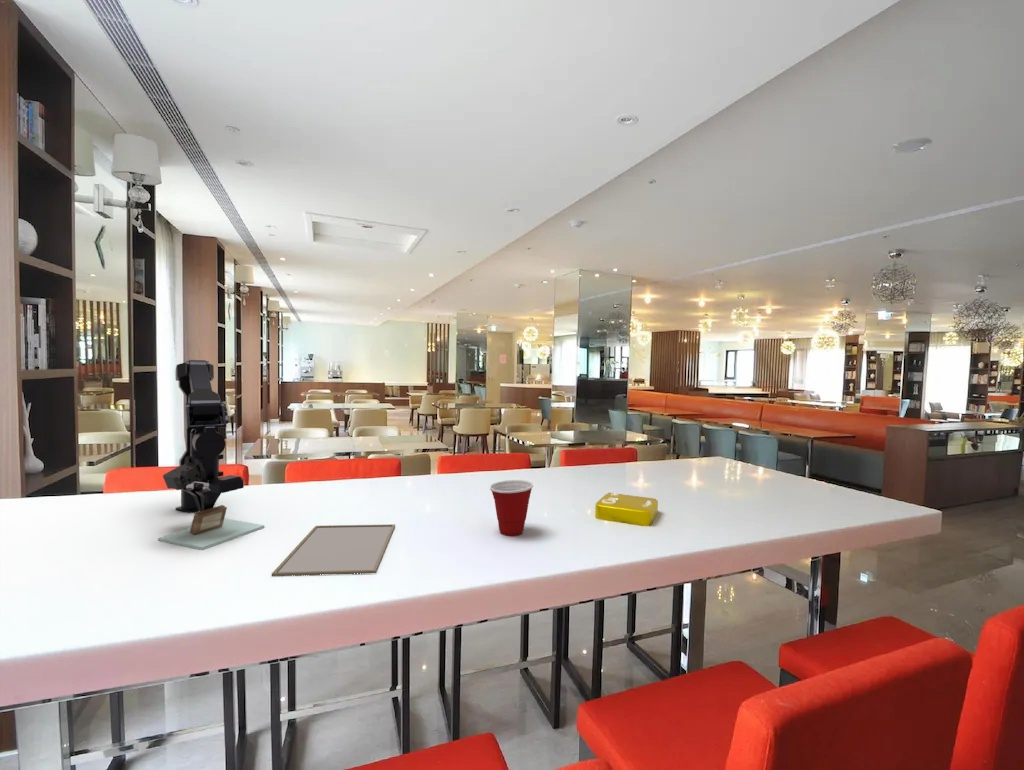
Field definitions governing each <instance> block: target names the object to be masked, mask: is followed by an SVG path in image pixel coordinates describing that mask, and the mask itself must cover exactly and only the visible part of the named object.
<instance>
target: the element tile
mask: <svg viewBox="0 0 1024 770" xmlns="http://www.w3.org/2000/svg"><path fill="white" fill-rule="evenodd" d="M594 507H595V508H594V509H595V511H594V512H595V514H594V516H595V519H597V520H599V521H607V522H613V523H620V524H626V525H633V526H640V527H651V526H652V525H653V523H654V521H655V520H656V517H657V515H658V514H659V510H658V509H659V501H658V499H656V498H654V497H646V496H639V495H629V494H624V493H623V494H622V493H614V492H608V493H606V494H604V495H603V496H602V497H601V498H600V499H599V500H598V501H596V503H595V506H594Z"/></svg>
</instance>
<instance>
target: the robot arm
mask: <svg viewBox="0 0 1024 770" xmlns="http://www.w3.org/2000/svg"><path fill="white" fill-rule="evenodd" d="M214 372H215V368H214V364H211V363H210V361H209V360H206V359H205V360H204V359H189V360H186V361H185V362H182V363H179V364H176V366H175V381H178V388H179V389H180V391H181V392H182V394H183V395H184V396H185V404H184V418H185V451H184V453H182V456H181V457H180V458H179V461H178V462H179V464H178V465H179V466H176V467H175V468H173V469H171V470H170V471H168V472H166V473H164V474H163V475H162V479H163V480H164V482H165V486H166V487H167V489H169V490H170V489H173V490H176V491H180V490H181V491H180V503H181V504H180V506H178V507H175V510H176V511H181V512H187V513H196V512H200V511H203V510H207V509H210V508H214V506H215V505H216V502H217V500H218V499H219V498H220V496H221V495H222V494H224V493H225V494H226V493H228V492H232V491H237V490H241V489H244V487H245V486H244V482H245V481H244V478H243V477H242V476H239V475H232V474H229V475H224V471H222V470H221V471H220V460H223V459H224V454H223V451H224V450H225V448H226V440H225V438H224V436H223V435H222V434H221V433H220V428H224V429H225V428H227V424H229V415H228V408H227V406H226V405H225V403H224V402H222V400H221V397H220V394H219V393H217V392H215V391H214V390H213V389H212V383H211V382H212V381H213V380H214V379H215V377H214V376H215V373H214Z"/></svg>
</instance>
